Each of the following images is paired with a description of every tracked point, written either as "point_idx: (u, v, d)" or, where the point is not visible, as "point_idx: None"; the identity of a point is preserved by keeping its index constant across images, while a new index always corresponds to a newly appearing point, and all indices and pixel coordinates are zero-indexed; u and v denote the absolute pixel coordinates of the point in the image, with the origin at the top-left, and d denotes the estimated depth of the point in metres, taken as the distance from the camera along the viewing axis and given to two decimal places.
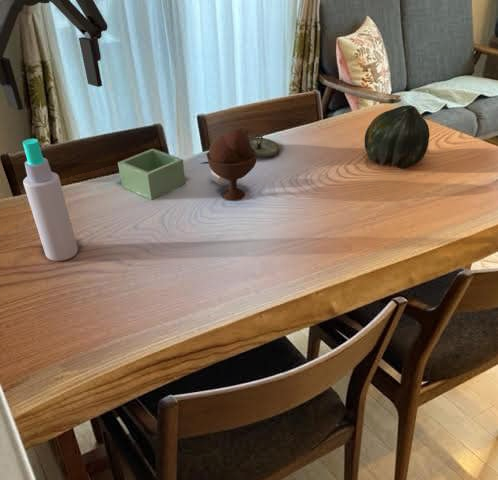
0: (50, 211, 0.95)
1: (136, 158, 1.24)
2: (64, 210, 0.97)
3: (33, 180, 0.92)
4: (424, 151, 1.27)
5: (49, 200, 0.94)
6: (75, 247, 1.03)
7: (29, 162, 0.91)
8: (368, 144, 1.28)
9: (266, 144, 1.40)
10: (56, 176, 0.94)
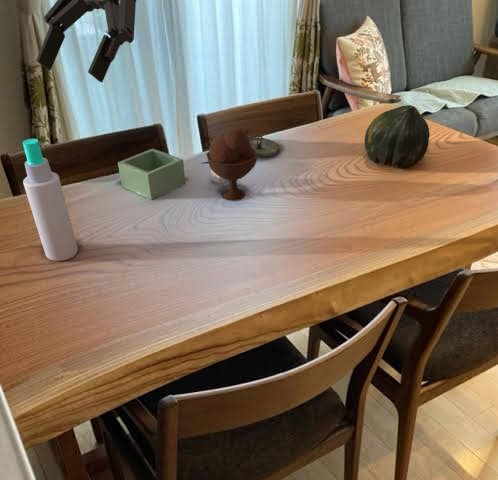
0: (50, 211, 0.95)
1: (136, 158, 1.24)
2: (64, 210, 0.97)
3: (33, 180, 0.92)
4: (424, 151, 1.27)
5: (49, 200, 0.94)
6: (75, 247, 1.03)
7: (29, 162, 0.91)
8: (368, 144, 1.28)
9: (266, 144, 1.40)
10: (56, 176, 0.94)
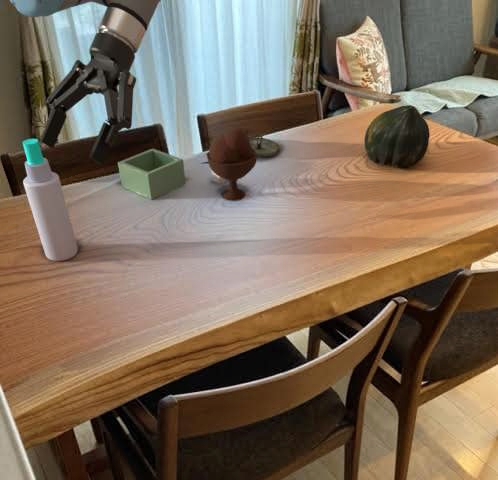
0: (50, 211, 0.95)
1: (136, 158, 1.24)
2: (64, 210, 0.97)
3: (33, 180, 0.92)
4: (424, 151, 1.27)
5: (49, 200, 0.94)
6: (75, 247, 1.03)
7: (29, 162, 0.91)
8: (368, 144, 1.28)
9: (266, 144, 1.40)
10: (56, 176, 0.94)
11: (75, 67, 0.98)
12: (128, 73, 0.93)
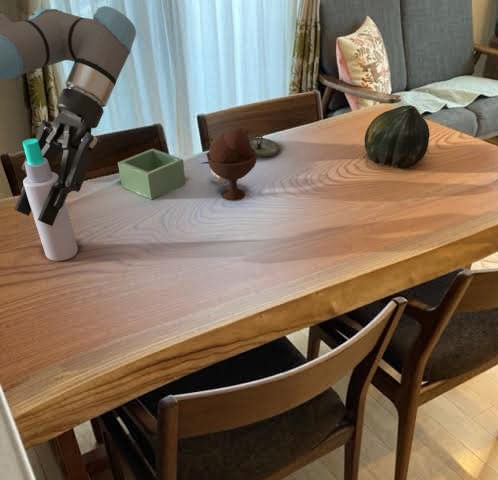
0: None
1: (136, 158, 1.24)
2: (64, 210, 0.97)
3: (33, 180, 0.92)
4: (424, 151, 1.27)
5: None
6: (75, 247, 1.03)
7: (29, 162, 0.91)
8: (368, 144, 1.28)
9: (266, 144, 1.40)
10: (56, 176, 0.94)
11: (42, 127, 0.97)
12: (91, 138, 0.91)
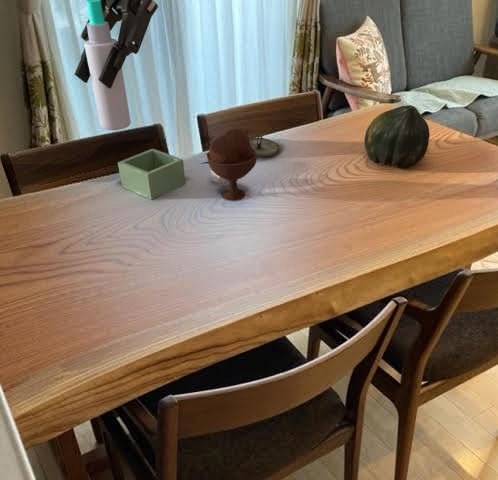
0: None
1: (136, 158, 1.24)
2: (121, 76, 1.02)
3: (94, 41, 0.97)
4: (424, 151, 1.27)
5: None
6: (129, 118, 1.07)
7: (91, 22, 0.96)
8: (368, 144, 1.28)
9: (266, 144, 1.40)
10: (115, 40, 0.99)
11: None
12: (150, 0, 0.96)
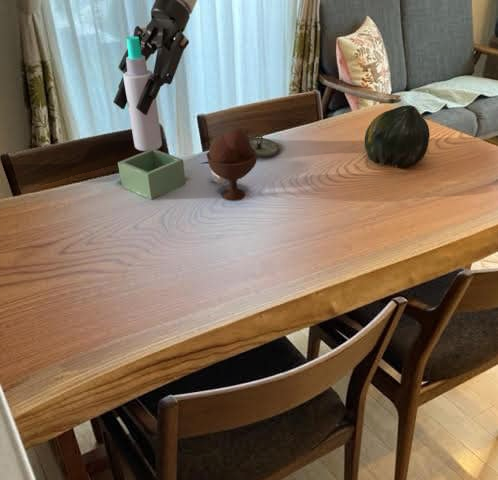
0: None
1: (136, 158, 1.24)
2: (155, 103, 1.13)
3: (133, 73, 1.09)
4: (424, 151, 1.27)
5: None
6: (160, 140, 1.19)
7: (130, 56, 1.08)
8: (368, 144, 1.28)
9: (266, 144, 1.40)
10: (150, 71, 1.11)
11: (136, 32, 1.13)
12: (182, 37, 1.08)
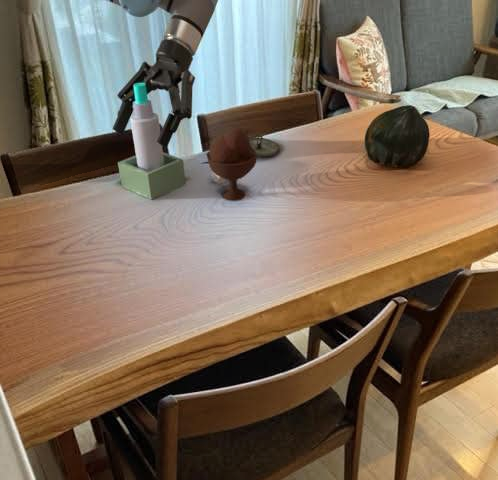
0: (151, 144, 1.17)
1: (136, 158, 1.24)
2: None
3: (139, 117, 1.14)
4: (424, 151, 1.27)
5: (150, 134, 1.16)
6: None
7: (137, 101, 1.13)
8: (368, 144, 1.28)
9: (266, 144, 1.40)
10: (156, 115, 1.16)
11: (143, 67, 1.19)
12: (189, 73, 1.13)
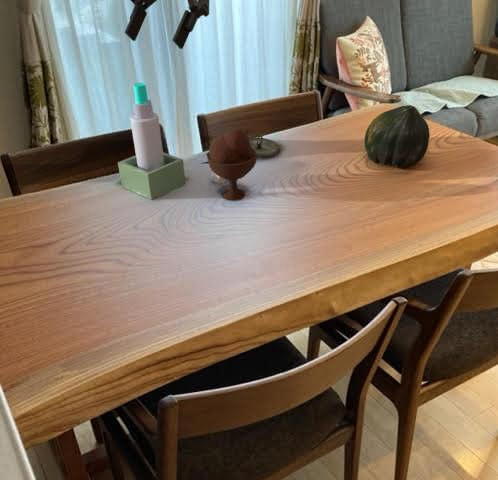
0: (151, 144, 1.17)
1: (136, 158, 1.24)
2: (160, 144, 1.19)
3: (139, 117, 1.14)
4: (424, 151, 1.27)
5: (150, 134, 1.16)
6: None
7: (137, 101, 1.13)
8: (368, 144, 1.28)
9: (266, 144, 1.40)
10: (156, 115, 1.16)
11: None
12: None
